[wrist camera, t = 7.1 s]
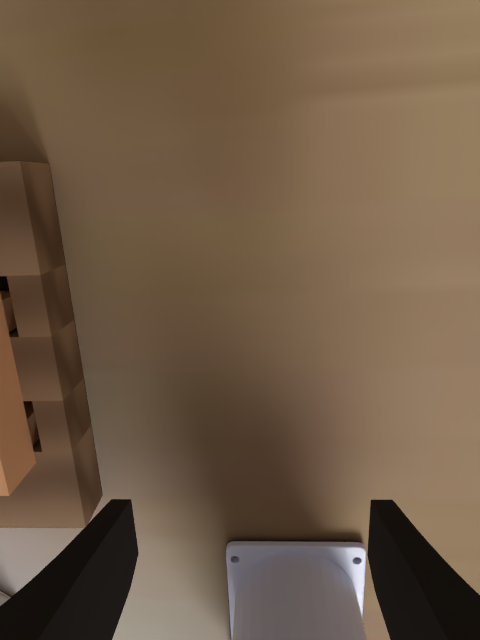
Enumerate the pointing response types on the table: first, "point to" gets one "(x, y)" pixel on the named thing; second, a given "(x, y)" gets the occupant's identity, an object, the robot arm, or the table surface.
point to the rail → (45, 357)
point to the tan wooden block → (13, 410)
